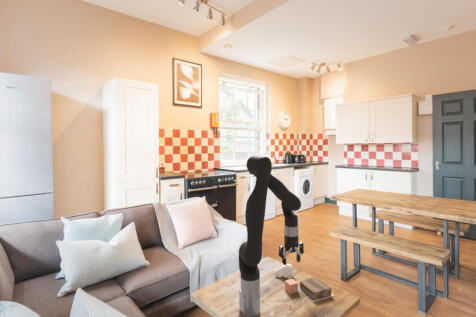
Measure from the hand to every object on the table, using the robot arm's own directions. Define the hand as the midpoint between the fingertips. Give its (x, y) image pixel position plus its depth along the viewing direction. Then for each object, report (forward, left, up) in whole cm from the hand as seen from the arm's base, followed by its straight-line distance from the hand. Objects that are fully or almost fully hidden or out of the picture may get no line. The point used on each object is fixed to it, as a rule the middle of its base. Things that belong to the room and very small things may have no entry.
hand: (291, 263), depth 141 cm
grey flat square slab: (+11, -6, -16) cm, 21 cm away
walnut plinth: (+11, -6, -15) cm, 20 cm away
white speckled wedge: (+4, +15, -17) cm, 23 cm away
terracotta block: (0, 0, -16) cm, 16 cm away
